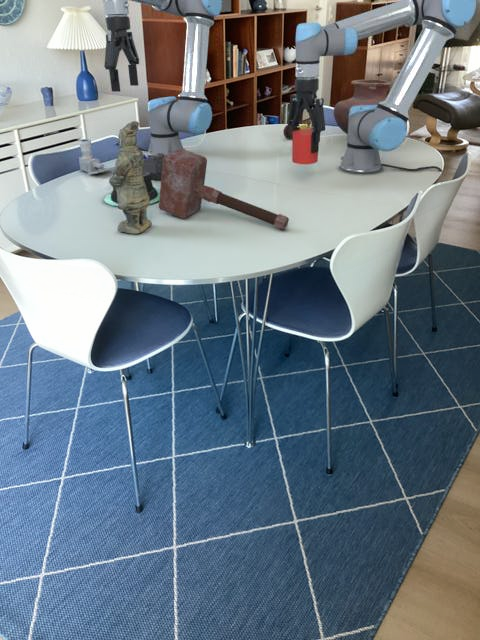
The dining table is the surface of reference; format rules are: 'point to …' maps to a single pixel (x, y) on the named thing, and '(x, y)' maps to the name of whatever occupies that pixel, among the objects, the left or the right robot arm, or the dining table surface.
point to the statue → (131, 182)
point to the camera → (90, 159)
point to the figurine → (288, 130)
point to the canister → (303, 147)
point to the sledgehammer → (200, 190)
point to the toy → (154, 165)
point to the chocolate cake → (152, 192)
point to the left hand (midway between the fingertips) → (125, 88)
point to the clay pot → (360, 99)
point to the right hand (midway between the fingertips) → (305, 149)
